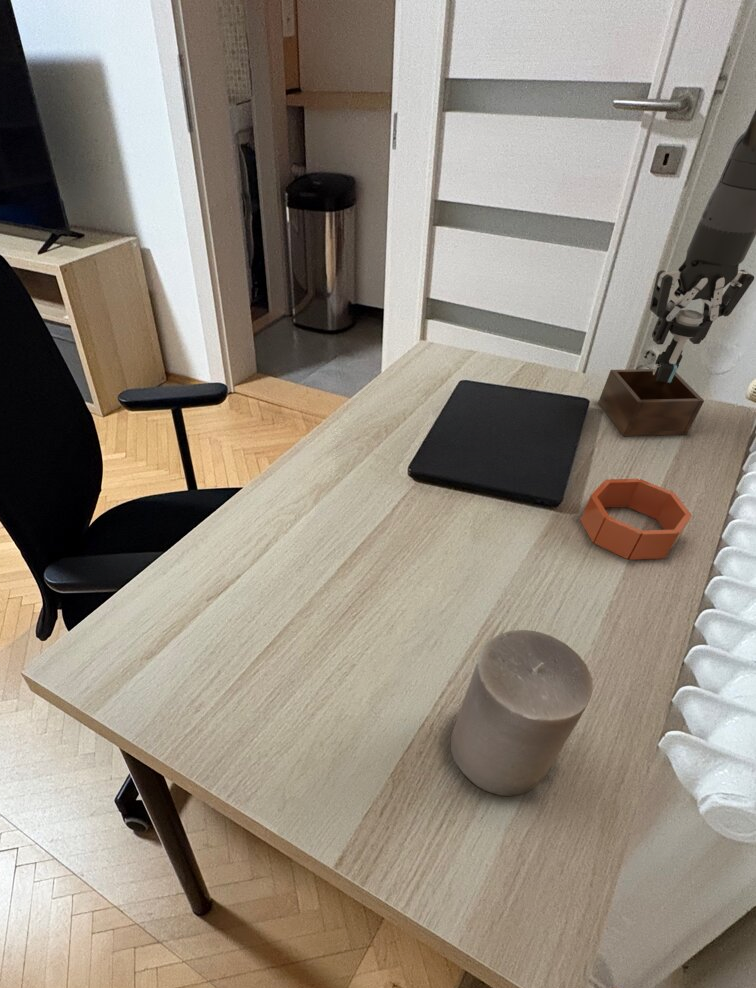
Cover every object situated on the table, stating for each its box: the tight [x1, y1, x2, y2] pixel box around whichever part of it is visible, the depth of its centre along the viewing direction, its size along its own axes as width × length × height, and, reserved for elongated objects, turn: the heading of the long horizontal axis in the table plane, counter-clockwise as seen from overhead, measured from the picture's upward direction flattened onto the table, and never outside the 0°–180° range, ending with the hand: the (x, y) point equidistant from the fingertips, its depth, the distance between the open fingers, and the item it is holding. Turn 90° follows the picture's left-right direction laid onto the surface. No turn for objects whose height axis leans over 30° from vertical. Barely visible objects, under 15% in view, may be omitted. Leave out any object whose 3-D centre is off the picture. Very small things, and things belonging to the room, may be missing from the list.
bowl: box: [580, 478, 693, 561], centre depth 85 cm, size 12×12×4 cm
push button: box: [653, 309, 707, 383], centre depth 98 cm, size 7×5×10 cm
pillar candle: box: [450, 629, 594, 797], centre depth 57 cm, size 10×10×15 cm
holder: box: [597, 368, 705, 437], centre depth 105 cm, size 11×11×6 cm
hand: (675, 341), depth 98 cm, fingers closed on push button, 5 cm apart
